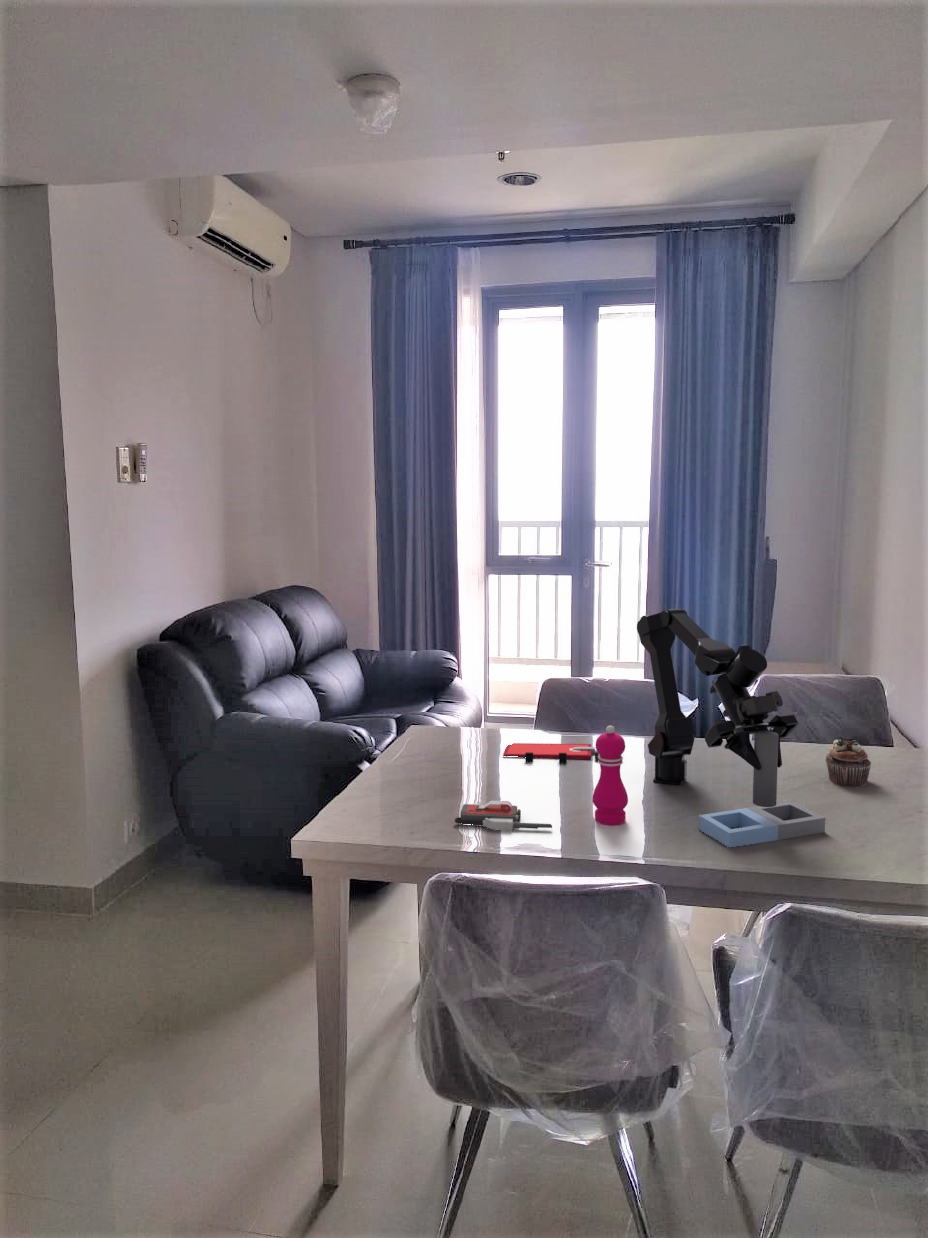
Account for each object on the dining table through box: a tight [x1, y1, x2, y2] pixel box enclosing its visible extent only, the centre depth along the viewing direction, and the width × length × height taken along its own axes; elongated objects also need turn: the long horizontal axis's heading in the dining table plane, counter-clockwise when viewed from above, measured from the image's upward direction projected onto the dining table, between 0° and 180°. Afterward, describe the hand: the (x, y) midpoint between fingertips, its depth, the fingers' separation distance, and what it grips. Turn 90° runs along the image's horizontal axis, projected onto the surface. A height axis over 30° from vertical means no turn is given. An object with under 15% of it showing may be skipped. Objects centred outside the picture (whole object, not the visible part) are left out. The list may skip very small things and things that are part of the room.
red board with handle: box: [502, 742, 600, 764], centre depth 226 cm, size 30×3×15 cm
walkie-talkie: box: [454, 800, 553, 832], centre depth 179 cm, size 9×4×20 cm
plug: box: [752, 731, 779, 807], centre depth 170 cm, size 4×4×14 cm
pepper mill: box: [592, 725, 629, 826], centre depth 178 cm, size 7×7×20 cm
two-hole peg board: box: [698, 800, 826, 849], centre depth 172 cm, size 22×10×3 cm, turn 108°
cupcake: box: [825, 737, 872, 788], centre depth 200 cm, size 10×10×10 cm
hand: (769, 767), depth 168 cm, fingers closed on plug, 4 cm apart
